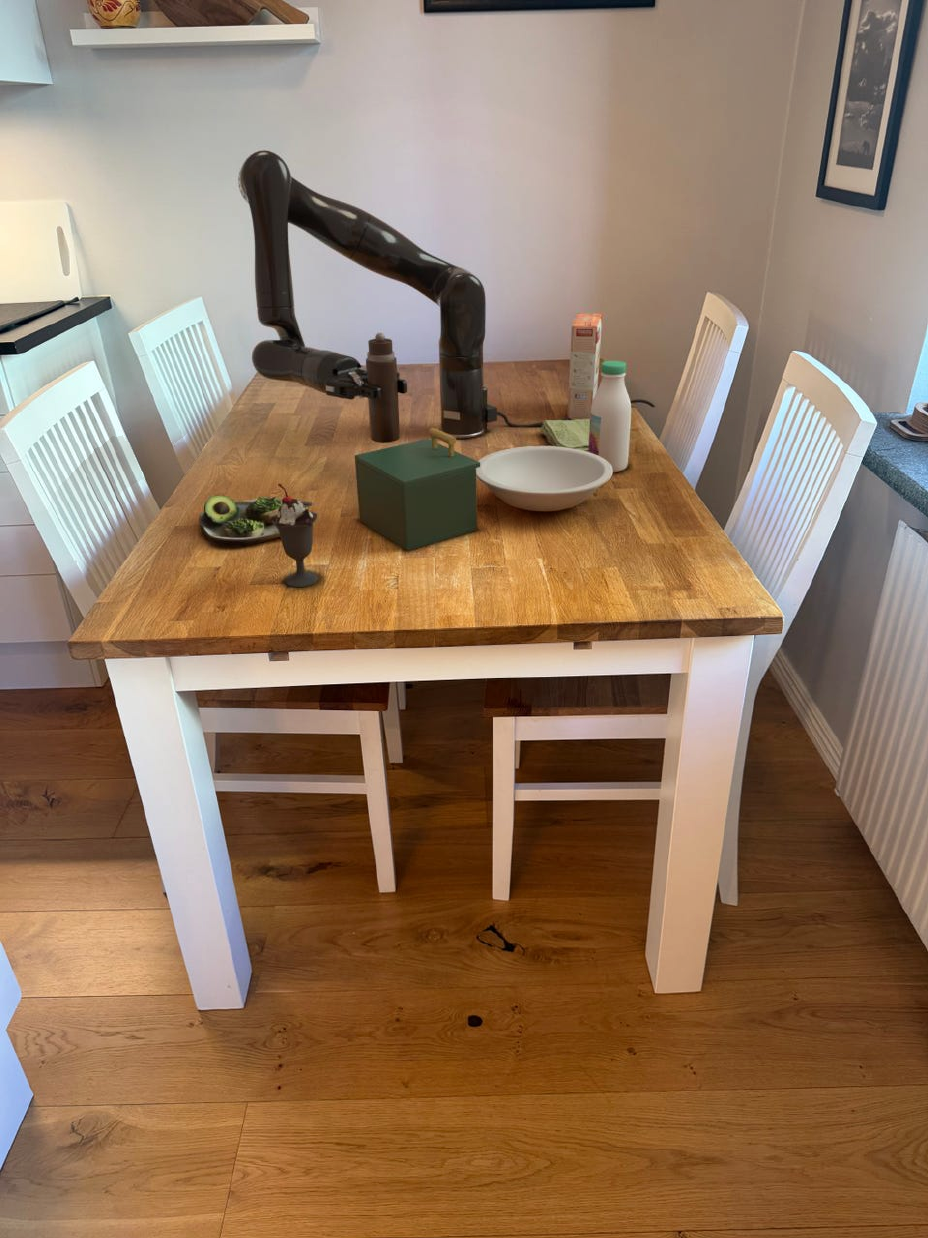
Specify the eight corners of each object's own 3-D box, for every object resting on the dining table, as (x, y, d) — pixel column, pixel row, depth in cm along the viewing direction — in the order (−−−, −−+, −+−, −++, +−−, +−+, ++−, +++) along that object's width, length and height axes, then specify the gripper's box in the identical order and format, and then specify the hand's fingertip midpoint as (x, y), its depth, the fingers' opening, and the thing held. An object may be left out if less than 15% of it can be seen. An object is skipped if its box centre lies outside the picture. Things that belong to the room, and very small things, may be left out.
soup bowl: (607, 534, 151) (609, 496, 148) (463, 525, 155) (462, 488, 152) (613, 482, 171) (615, 448, 168) (486, 476, 175) (486, 442, 172)
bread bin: (426, 502, 164) (423, 443, 159) (477, 530, 153) (476, 468, 148) (359, 520, 158) (354, 460, 152) (407, 551, 146) (404, 486, 141)
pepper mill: (390, 431, 167) (385, 328, 158) (405, 439, 163) (401, 333, 154) (365, 437, 164) (358, 332, 155) (380, 444, 160) (373, 337, 152)
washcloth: (560, 459, 183) (560, 443, 182) (538, 432, 198) (538, 418, 197) (623, 454, 185) (624, 439, 183) (596, 428, 200) (597, 414, 199)
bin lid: (427, 442, 160) (426, 418, 158) (480, 467, 148) (480, 441, 146) (354, 459, 152) (352, 435, 150) (404, 486, 141) (402, 460, 139)
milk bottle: (630, 462, 181) (638, 359, 171) (623, 475, 175) (631, 369, 165) (592, 458, 183) (597, 356, 174) (583, 471, 177) (588, 366, 167)
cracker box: (593, 422, 204) (598, 325, 194) (566, 421, 205) (569, 324, 195) (598, 404, 216) (603, 312, 206) (572, 403, 217) (576, 311, 207)
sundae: (280, 571, 141) (268, 478, 133) (325, 569, 141) (315, 476, 134) (276, 591, 135) (264, 495, 128) (322, 588, 135) (312, 492, 128)
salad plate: (300, 496, 168) (298, 472, 166) (330, 532, 154) (327, 506, 151) (193, 515, 161) (188, 490, 159) (213, 554, 147) (209, 527, 144)
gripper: (297, 359, 162) (358, 376, 151) (361, 345, 171) (423, 361, 160) (301, 401, 166) (361, 421, 155) (363, 386, 174) (424, 403, 164)
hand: (392, 390), depth 158 cm, fingers closed on pepper mill, 5 cm apart
